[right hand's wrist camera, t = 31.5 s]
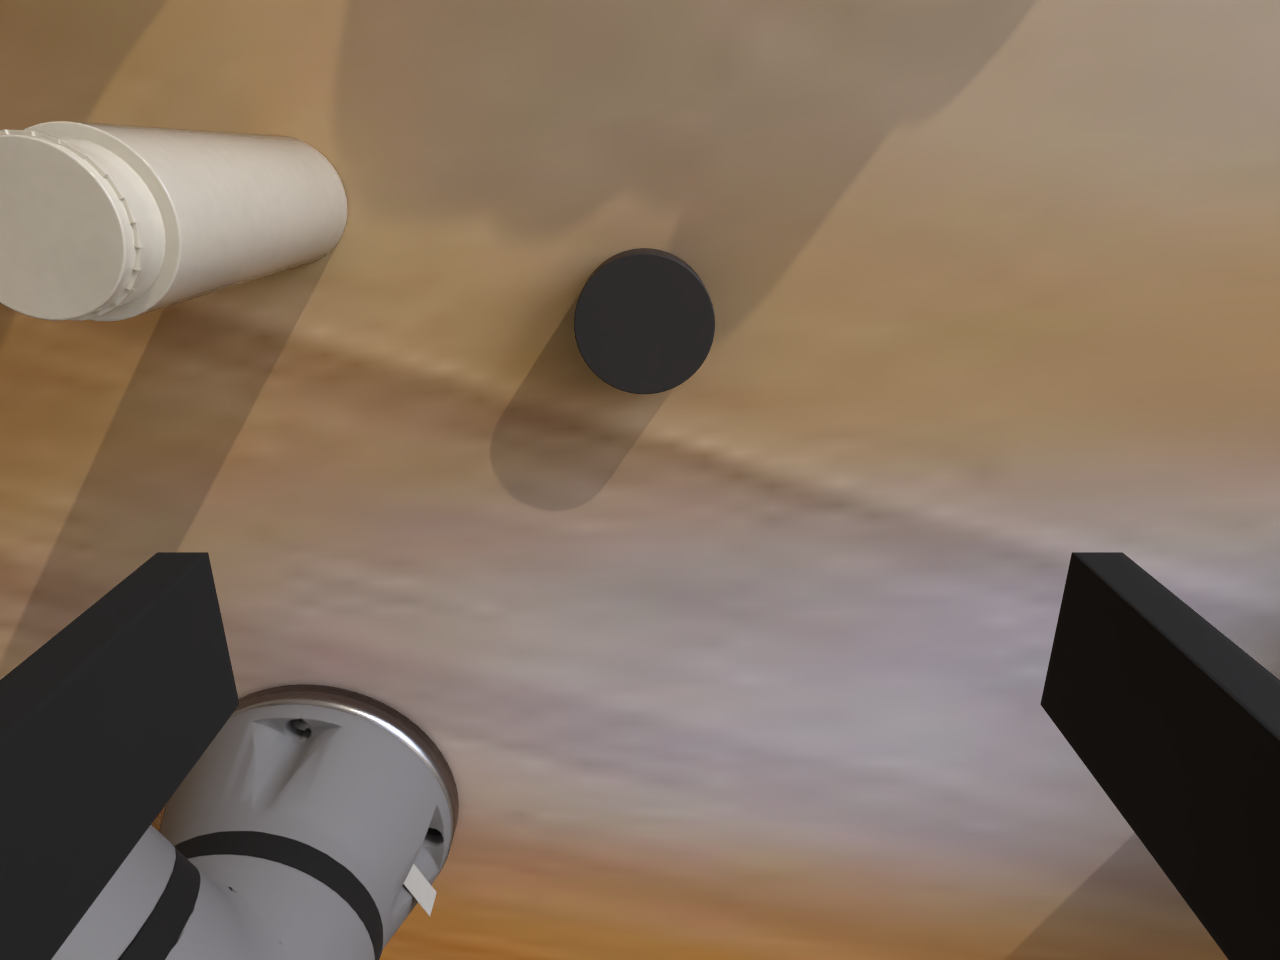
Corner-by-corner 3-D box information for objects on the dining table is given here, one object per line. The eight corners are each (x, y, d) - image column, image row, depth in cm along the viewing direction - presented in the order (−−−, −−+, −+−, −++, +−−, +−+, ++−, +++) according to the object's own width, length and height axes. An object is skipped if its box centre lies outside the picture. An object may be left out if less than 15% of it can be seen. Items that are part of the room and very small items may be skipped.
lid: (555, 344, 38) (550, 354, 36) (615, 222, 36) (614, 226, 34) (670, 403, 39) (672, 417, 37) (735, 288, 37) (741, 296, 35)
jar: (371, 229, 36) (183, 277, 21) (272, 285, 37) (25, 369, 22) (300, 112, 35) (42, 75, 20) (198, 173, 35) (-123, 182, 20)
